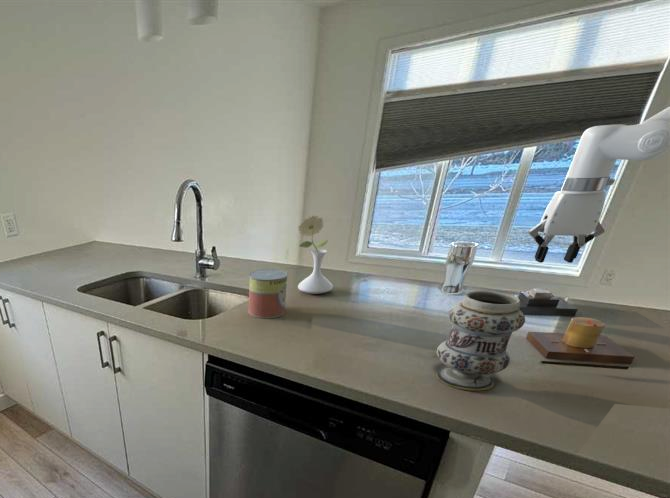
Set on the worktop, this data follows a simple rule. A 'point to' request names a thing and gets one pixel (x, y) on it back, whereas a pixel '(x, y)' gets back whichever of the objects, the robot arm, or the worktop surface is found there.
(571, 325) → the dial
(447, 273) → the beer glass
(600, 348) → the volume panel
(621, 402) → the worktop surface
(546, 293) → the key
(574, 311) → the piano block
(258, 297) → the canned food
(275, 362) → the worktop surface
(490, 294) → the apothecary jar
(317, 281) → the flower in vase
